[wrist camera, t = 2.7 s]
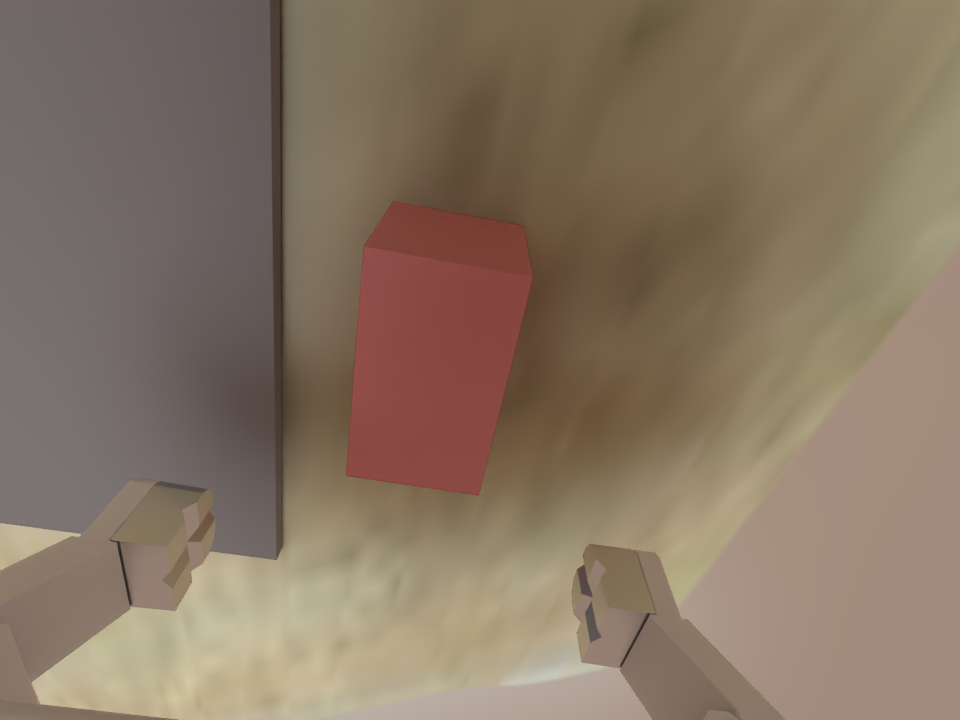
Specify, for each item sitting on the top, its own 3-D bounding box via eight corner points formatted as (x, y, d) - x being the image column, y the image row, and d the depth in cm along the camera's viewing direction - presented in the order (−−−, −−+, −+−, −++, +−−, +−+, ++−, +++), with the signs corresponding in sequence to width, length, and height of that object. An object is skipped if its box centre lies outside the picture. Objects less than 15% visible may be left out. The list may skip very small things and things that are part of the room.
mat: (-451, -203, 13) (-503, -217, 13) (279, -41, 15) (269, -46, 14) (-103, 494, 25) (-120, 507, 24) (282, 546, 26) (276, 559, 26)
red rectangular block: (393, 200, 18) (363, 246, 14) (522, 224, 18) (533, 277, 14) (374, 392, 22) (345, 475, 18) (480, 410, 22) (478, 495, 18)
